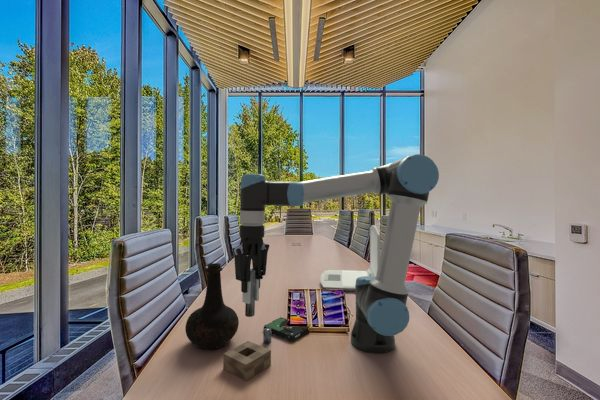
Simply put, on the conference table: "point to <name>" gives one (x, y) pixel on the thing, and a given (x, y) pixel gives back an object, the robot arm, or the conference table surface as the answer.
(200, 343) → the glass bottle
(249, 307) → the long pin
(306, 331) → the disk drive
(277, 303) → the conference table surface
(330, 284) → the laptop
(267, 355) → the socket block
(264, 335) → the short pin
